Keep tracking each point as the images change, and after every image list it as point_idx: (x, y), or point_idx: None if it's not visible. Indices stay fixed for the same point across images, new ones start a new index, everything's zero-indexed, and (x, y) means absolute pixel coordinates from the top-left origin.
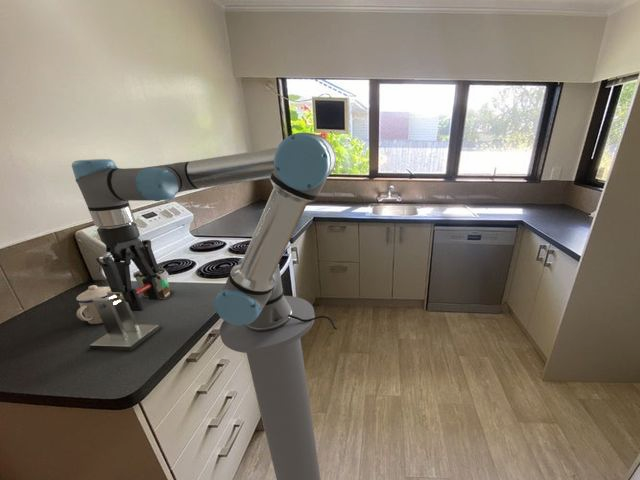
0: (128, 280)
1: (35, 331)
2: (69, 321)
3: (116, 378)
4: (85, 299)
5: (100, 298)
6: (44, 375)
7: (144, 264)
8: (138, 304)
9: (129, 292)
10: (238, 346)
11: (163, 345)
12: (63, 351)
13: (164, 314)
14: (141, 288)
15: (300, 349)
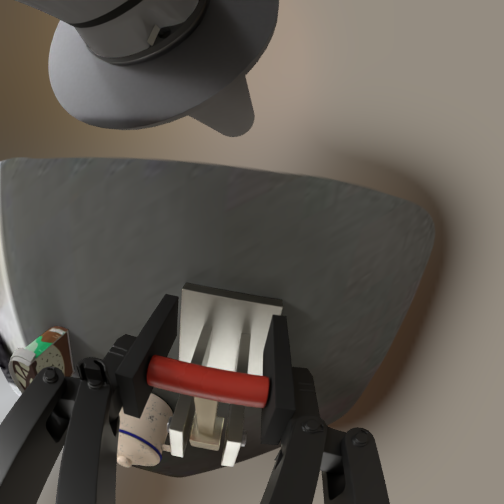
0: (301, 478)
1: (197, 457)
2: (167, 439)
3: (382, 272)
4: (155, 457)
5: (225, 458)
6: (326, 398)
7: (88, 489)
8: (288, 339)
9: (301, 412)
10: (268, 35)
11: (271, 227)
12: (258, 413)
13: (121, 303)
14: (214, 387)
15: None
